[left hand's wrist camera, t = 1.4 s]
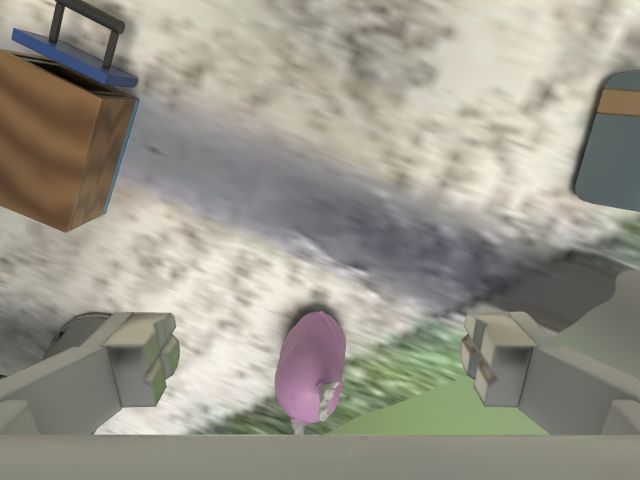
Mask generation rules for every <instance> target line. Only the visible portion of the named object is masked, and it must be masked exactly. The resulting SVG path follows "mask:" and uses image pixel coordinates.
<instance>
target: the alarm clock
mask: <svg viewBox="0 0 640 480" xmlns="http://www.w3.org/2000/svg"><path fill="white" fill-rule="evenodd" d="M604 88H605V89H603V93H602V96H601V99H600V103H599V106H598V110H597V112H599V113H596V116H595V120H594V123H593V127H592V130H591V133H590V137H589V140H588V144H587V147H586V151H585V154H584V157H583V161H582V164H581V168H580V171H579V174H578V178H577V181H576V185H575V193H576V195H577V196H578V197H579V199H581V200H583V201H586V202H589V203H592V204H598V205H604V206H609V207H615V208H620V209H626V210H632V211H637V212H640V70H631V71H626V72H622V73H618V74H616V75H615V76H613V77H612V78H611V79H610V80H608V82H607V84H606V85H605V87H604Z"/></svg>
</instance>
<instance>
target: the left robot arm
mask: <svg viewBox="0 0 640 480" xmlns="http://www.w3.org/2000/svg"><path fill="white" fill-rule="evenodd" d="M175 328H176V323H175V318H174V316H173V315H172V314H171V313H153V312H117V313H113V314H112V315H111V316H110V317H109V318H108V319H107V320H106V321H105V322H104V323H103V324H102V325H101V326H100V327H99V328H98V329H97V330H96V331H95V332H94V333H93V334H92V335H91V336H90V337H89V338H88V339H87V340H86V341H85V342H84V343H83V344H82V345H81V346H80V347H72V348H70V349H67V350H65V351H63V352H61V353H58V354H56V355H54V356H52V357H50V358H47V359H45V360H43V361H41V362H38V363H36V364H34V365H32V366H29V367H27V368H25V369H23V370H20V371H18V372H16V373H14V374H12V375H9V376H7V377H5V378H3V379H0V480H640V380H639V379H637V378H635V377H633V376H630V375H628V374H626V373H624V372H622V371H619V370H617V369H615V368H613V367H610V366H608V365H606V364H604V363H602V362H599V361H597V360H595V359H593V358H590V357H588V356H586V355H584V354H582V353H579V352H577V351H575V350H573V349H570V348H568V347H560V346H559V345H558V344H557V343H556V342H555V341H554V340H553V339H552V338H551V337H550V336H549V335H548V334H547V333H546V332H545V331H544V330H543V329H542V328H541V327H540V326H539V325H538V324H537V323H536V322H535V321H534V320H533V319H532V318H531V317H530V316H529V315H528V314H527V313H524V312H504V313H468V314H467V316H466V318H465V322H464V328H465V329H466V331H467V333H468V334H467V335H466V336H465V337H464V338H463V339H462V340H461V348H460V354H461V362H462V365H463V368H464V370H465V372H466V374H467V375H468V376H469V377H471V378H473V379H474V380H475V382H474V389H475V390H476V392H477V394H478V396H479V398H480V399H481V401H482V403H483V405H484V406H485V407H519V408H518V409H519V410H520V411H521V412H523V413H524V414H525V415H527V416H528V417H529V418H530V419H532V420H533V421H534V422H535V423H537V424H538V425H539V426H540V427H542V428H543V429H544V430H546V431H547V432H548V433H549V434H551V435H90V434H91V433H92V432H93V431H95V430H96V429H97V428H98V427H100V426H101V425H102V424H103V423H105V422H106V421H107V420H109V419H110V418H111V417H112V416H114V415H115V414H116V413H117V412H119V411H120V410H121V409H122V408H121V407H155V406H156V405H157V403H158V401H159V399H160V398H161V396H162V394H163V392H164V390H165V389H166V382H165V380H166V379H168V378H169V377H171V376H172V375H173V374H174V372H175V370H176V368H177V365H178V361H179V355H180V347H179V340H178V339H177V338H176V337H175V336H174V335H173V334H172V333H173V331H174V329H175Z"/></svg>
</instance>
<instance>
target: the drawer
mask: <svg viewBox="0 0 640 480" xmlns="http://www.w3.org/2000/svg"><path fill="white" fill-rule="evenodd" d="M55 1H56V2H58V3H56V6H55V11H54V16H53V21H52V26H51V30H50V35H49V37H46V36H43V35H39V34H35V33H31V32H27V31H23V30H20V29H16V28H13V34H12V40H13V41H16V42H18V43H20V44H22V45H24V46H26V47H28V48H30V49H32V50H34V51H36V52H38V53H40V54H42V55H44V56H46V57H49V58H51V59H53V60H55V61H57V62H59V63H61V64H63V65H65V66H67V67H69V68H71V69H73V70H75V71H77V72H79V73H81V74H84V75H86V76H88V77H90V78H92V79H94V80H96V81H98V82H100V83H102V84H105V85H115V86H124V87H133V88H134V86H135V83H136V80H137V78H135V77H133V76H131V75H129V74H127V73H125V72H123V71H121V70H119V69H117V68H115V67H113V66H111V63H112V59H113V55H114V52H115V48H116V44H117V40H118V37H119V34H122V33H123V31H124V29H125V24H124V22H123V21H121V20H119V19H117V18H115V17H113V16H111V15H109V14H107V13H105V12H103V11H101V10H99V9H97V8H95V7H93V6H92V5H90V4H88V3H86V2H84V1H82V0H55ZM65 7H67V8H69V9H71V10H73V11H75V12H77V13H79V14H81V15H83V16H85V17H87V18H89V19H91V20H93V21H95V22H97V23H99V24H101V25H103V26H105V27H107V28H108V29H110V30H112V31H111V34H110V38H109V42H108V46H107V50H106V54H105V57H104V61H101V60H99V59H96V58H94V57H92V56H90V55H88V54H86V53H84V52H82V51H80V50H78V49H76V48H74V47H72V46H70V45H68V44H66V43H64V42H62V41H60V40H58V36H59V32H60V27H61V23H62V18H63V13H64V9H65ZM19 58H21V57H19ZM22 59H24V60H26V61H28V62H30V63H32V64H34V65H36V66H38V67H40V68H42V69H44V70H47V71H49V72H51V73H53V74H55V75H57V76H59V77H61V78H63V79H65V80H67V81H69V82H72V83H74V84H76V85H78V86H80V87H82V88H84V89H86V90H88V91H90V92H92V93H95V94H97V95H101V96H118V97H123V95H122V94H120V93H118V92H115V91H113V90H111V89H109V88H107V87H105V86H103V85H101V84H99V83H97V82H95V81H93V80H91V79H89V78H87V77H85V76H82V75H80V74H78V73H76V72H74V71H72V70H70V69H68V68H66V67H64V66H62V65H60V64H57V63H51V62H45V61H39V60H33V59H27V58H22Z"/></svg>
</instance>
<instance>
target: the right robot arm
mask: <svg viewBox="0 0 640 480" xmlns="http://www.w3.org/2000/svg"><path fill="white" fill-rule="evenodd" d="M110 316H111V315H109V314H103V313H89V314H84V315H81V316H78V317H76V318H74V319H72V320H71V321H69V322H68V323H67V324H66V325H65V326H63V327H62V328H61V329H60V331H59V332H58V333H57V334H56V336H55V337H54V339H53V341H52V343H51V344H50V346H49V348H48V350H47V352H46V354H45V356H44V358H43V360H45V359H47V358H50V357H52V356H54V355H56V354H58V353H61V352H63V351H65V350H67V349H70V348H72V347H80V346H81V345H82V344H83V343H84V342H85V341H86V340H87V339H88V338H89V337H90V336H91V335H92V334H93V333H94V332H95V331H96V330H97V329H98V328H99V327H100V326H101V325H102V324H103V323H104V322H105V321H106V320H107V319H108V318H109V317H110ZM43 360H42V361H43ZM5 377H7V376H4V375H0V379H3V378H5ZM96 430H97V429H96ZM96 430H95V431H96ZM95 431H93V432H92V433H91V434H90V435H93V434H94V433H95Z"/></svg>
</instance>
